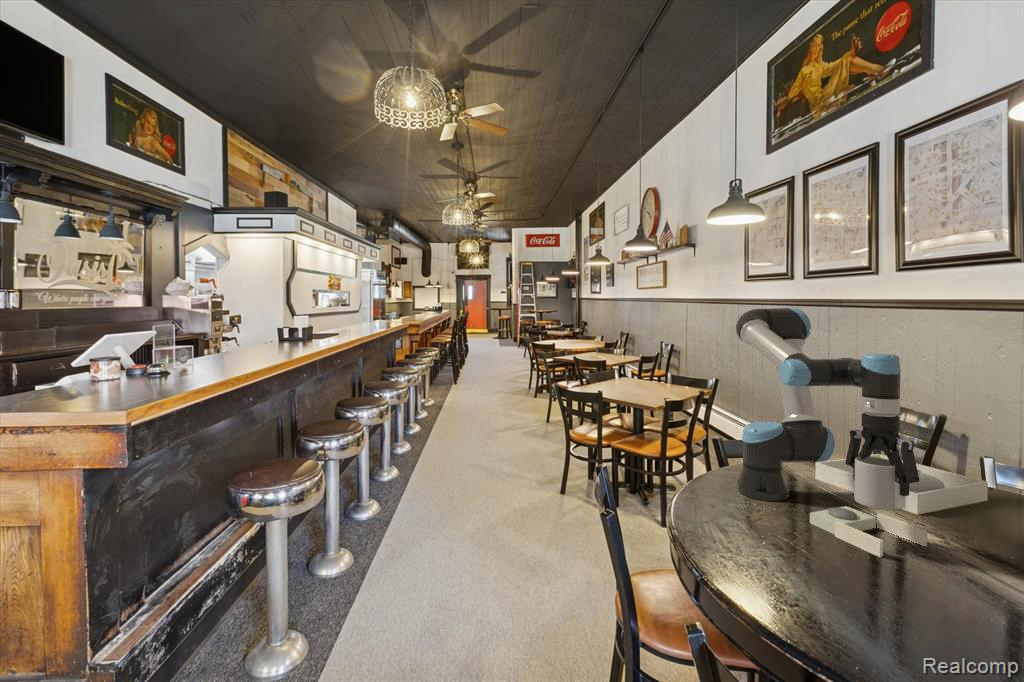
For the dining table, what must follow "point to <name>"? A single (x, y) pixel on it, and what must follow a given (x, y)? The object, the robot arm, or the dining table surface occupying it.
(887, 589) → the dining table surface
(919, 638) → the dining table surface
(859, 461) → the mug
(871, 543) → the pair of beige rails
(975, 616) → the dining table surface
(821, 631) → the dining table surface
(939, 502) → the shallow rectangular tray
